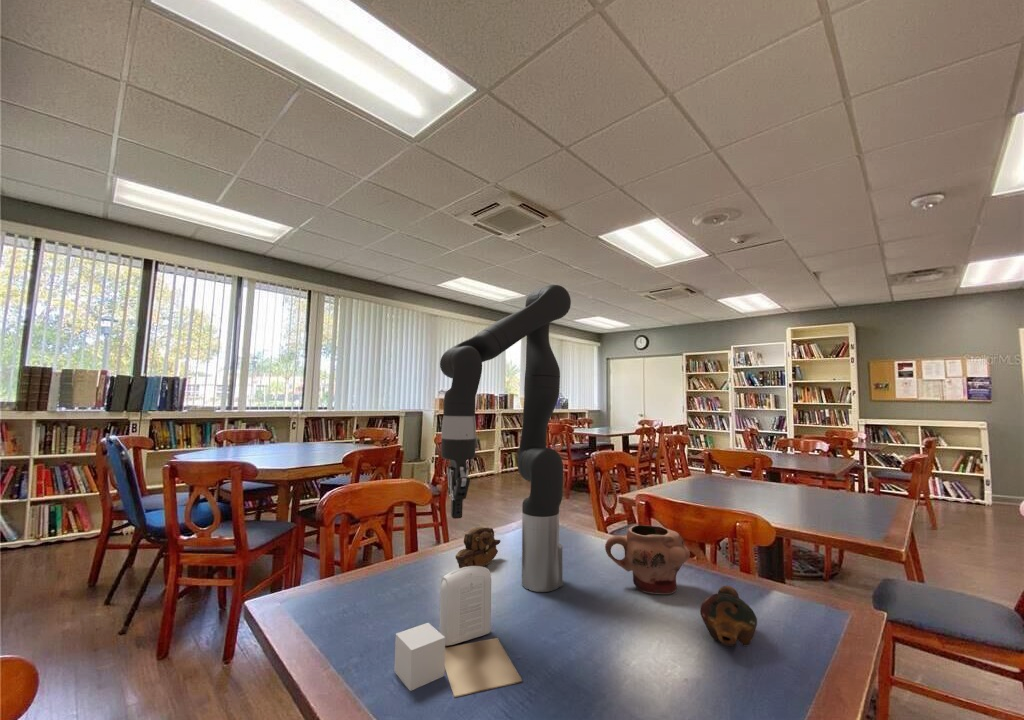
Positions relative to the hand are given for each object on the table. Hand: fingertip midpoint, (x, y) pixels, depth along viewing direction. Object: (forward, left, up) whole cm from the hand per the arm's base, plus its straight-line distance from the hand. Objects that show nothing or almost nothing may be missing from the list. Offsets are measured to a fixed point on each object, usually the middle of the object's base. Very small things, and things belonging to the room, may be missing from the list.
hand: (456, 517), depth 91 cm
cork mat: (0, +19, -20) cm, 27 cm away
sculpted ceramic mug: (-47, +3, -20) cm, 51 cm away
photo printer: (0, +10, -20) cm, 22 cm away
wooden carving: (-12, -23, -20) cm, 33 cm away
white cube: (+10, +18, -20) cm, 28 cm away
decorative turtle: (-47, +27, -20) cm, 58 cm away
